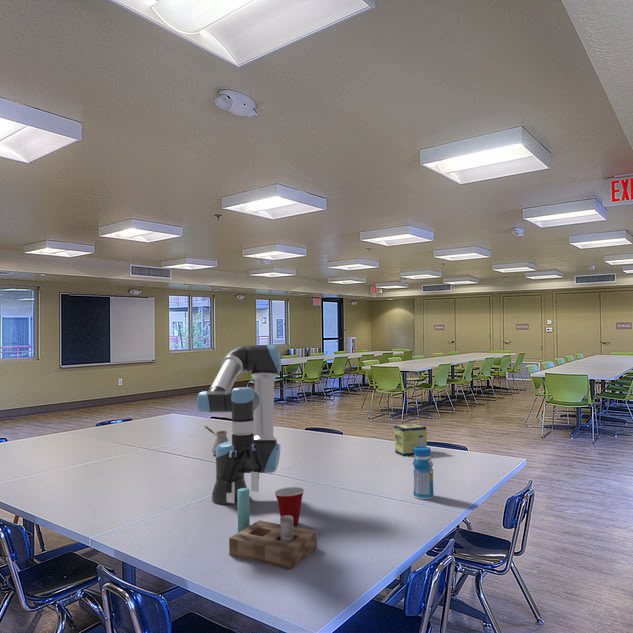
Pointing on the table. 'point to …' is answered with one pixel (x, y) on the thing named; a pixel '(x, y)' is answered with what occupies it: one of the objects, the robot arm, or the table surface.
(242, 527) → the teal peg
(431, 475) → the beverage bottle
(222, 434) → the coffee pot
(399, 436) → the protein box
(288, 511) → the plastic cup
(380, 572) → the table surface
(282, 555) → the bore block
